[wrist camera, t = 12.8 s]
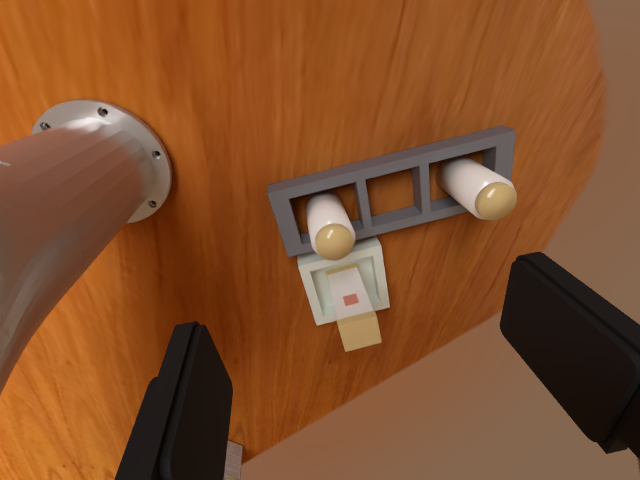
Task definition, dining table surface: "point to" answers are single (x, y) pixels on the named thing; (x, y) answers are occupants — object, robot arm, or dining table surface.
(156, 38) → the dining table surface
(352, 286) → the block
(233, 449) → the light bulb box
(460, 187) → the post
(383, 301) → the tray
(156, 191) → the robot arm
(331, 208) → the post
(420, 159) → the holder
